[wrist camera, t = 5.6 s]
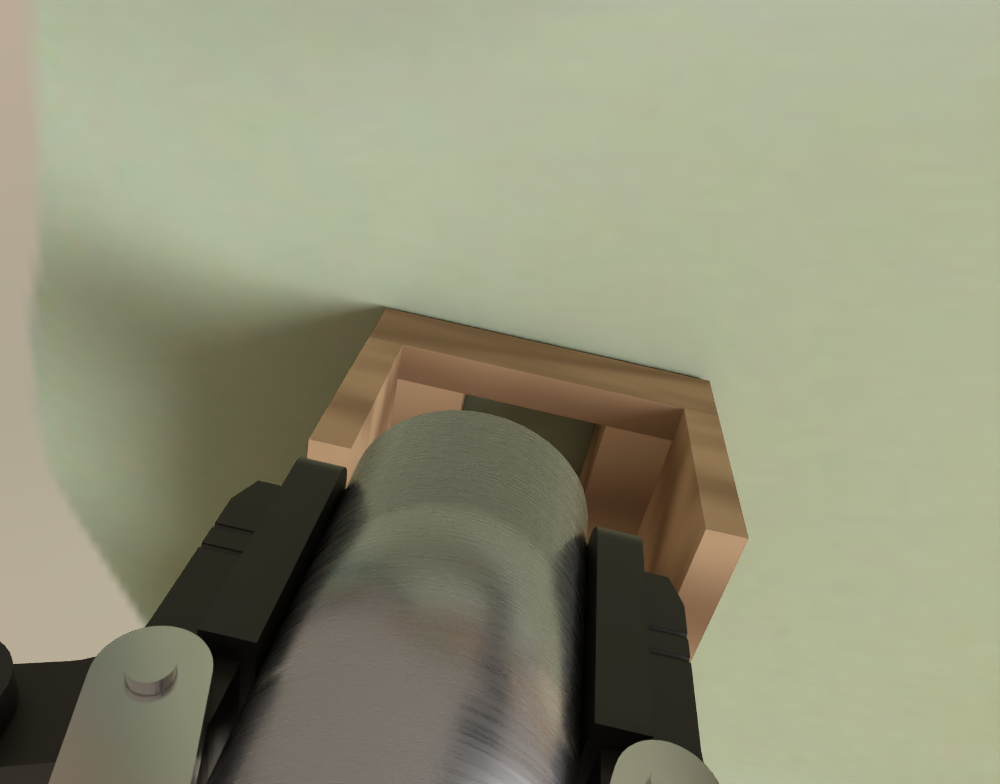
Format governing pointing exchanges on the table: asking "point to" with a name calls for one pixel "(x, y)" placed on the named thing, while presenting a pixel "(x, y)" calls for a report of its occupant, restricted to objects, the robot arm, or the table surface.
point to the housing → (579, 395)
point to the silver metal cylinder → (431, 621)
